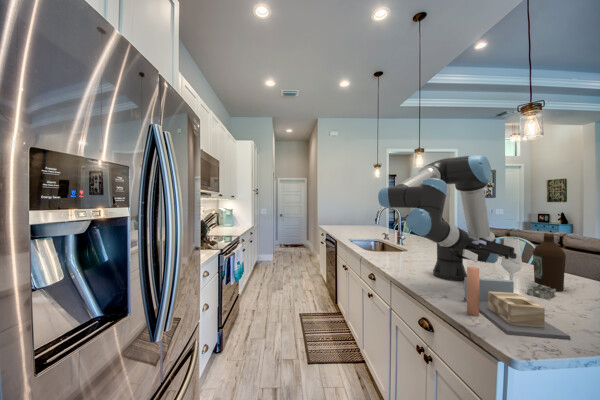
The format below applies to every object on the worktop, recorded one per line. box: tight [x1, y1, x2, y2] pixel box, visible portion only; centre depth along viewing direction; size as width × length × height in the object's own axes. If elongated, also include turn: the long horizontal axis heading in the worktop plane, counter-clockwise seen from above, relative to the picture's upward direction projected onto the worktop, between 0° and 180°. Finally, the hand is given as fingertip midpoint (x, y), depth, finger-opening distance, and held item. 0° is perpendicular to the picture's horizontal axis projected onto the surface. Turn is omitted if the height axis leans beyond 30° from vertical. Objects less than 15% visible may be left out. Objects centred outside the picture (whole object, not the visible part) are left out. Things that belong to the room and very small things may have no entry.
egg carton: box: [525, 283, 557, 300], centre depth 104 cm, size 11×8×4 cm
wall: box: [463, 277, 515, 301], centre depth 95 cm, size 2×16×8 cm, turn 81°
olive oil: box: [532, 232, 567, 292], centre depth 113 cm, size 11×11×25 cm
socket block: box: [488, 292, 546, 327], centre depth 81 cm, size 12×9×6 cm
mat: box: [463, 297, 571, 340], centre depth 84 cm, size 26×16×1 cm, turn 171°
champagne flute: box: [500, 237, 523, 282], centre depth 102 cm, size 7×7×24 cm
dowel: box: [466, 266, 480, 317], centre depth 86 cm, size 4×4×16 cm
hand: (496, 259), depth 84 cm, fingers open, 13 cm apart
